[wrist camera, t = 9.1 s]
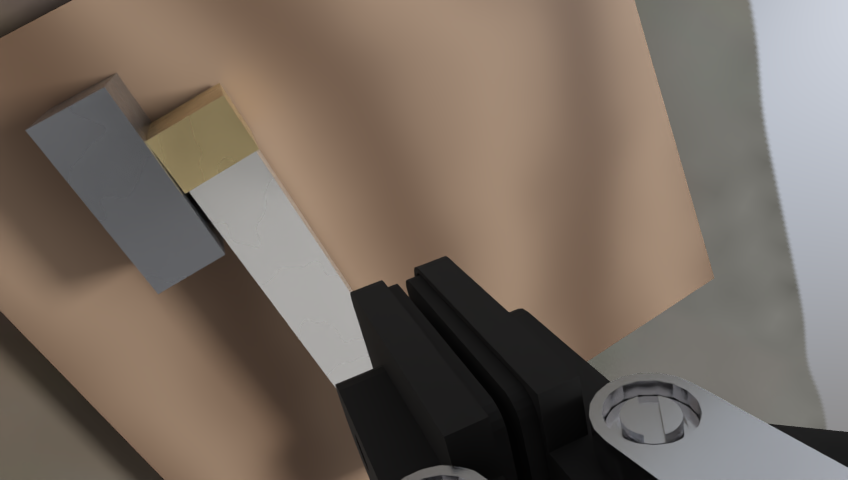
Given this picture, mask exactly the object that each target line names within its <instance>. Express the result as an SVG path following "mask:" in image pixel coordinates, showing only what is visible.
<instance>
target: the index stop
mask: <svg viewBox="0 0 848 480" xmlns="http://www.w3.org/2000/svg"><path fill="white" fill-rule="evenodd" d="M150 124H151V121H150V119H149V118H148V116H147V115H146V113H145V112H144V111H143V109H142V108H141V106H140V105H139V103H138V102H137V101H136V99H135V98H134V96H133V95H132V94H131V92H130V91H129V89H128V88H127V86H126V85H125V84H124V82H123V81H122V79H121V78H120V76H119V75H118V74H117V73H115V74H113V75H111V76H110V77H108V78H106V79H104V80H102V81H100V82H99V83H97V84H95V85H93V86H91V87H89V88H87V89H86V90H84V91H82V92H80V93H78V94H76V95H75V96H73V97H71V98H69V99H67V100H65V101H64V102H62V103H60V104H58V105H56V106H54V107H53V108H51V109H49V110H48V111H47V112H46V113H45V114H43V115H42V116H41V117H40V118H39V119H38V120H37V121H35V122H34V123H33V124H32V125H31V126H30V127H29V128H27V129H26V130H25V131H26V132H27V133H28V134H29V136H30V137H31V138H32V139H33V140H34V142H35V143H36V144H37V145H38V147H39V148H40V149H41V150H42V152H43V153H44V154H45V155H46V156H47V158H48V159H49V160H50V161H51V163H52V164H53V165H54V166H55V168H56V169H57V170H58V171H59V173H60V174H61V175H62V176H63V177H64V179H65V180H66V181H67V182H68V184H69V185H70V186H71V187H72V189H73V190H74V191H75V192H76V194H77V195H78V196H79V197H80V198H81V200H82V201H83V202H84V203H85V205H86V206H87V207H88V208H89V210H90V211H91V212H92V213H93V215H94V216H95V217H96V218H97V219H98V221H99V222H100V223H101V224H102V226H103V227H104V228H105V229H106V231H107V232H108V233H109V234H110V236H111V237H112V238H113V239H114V240H115V242H116V243H117V244H118V245H119V247H120V248H121V249H122V250H123V252H124V253H125V254H126V255H127V256H128V258H129V259H130V260H131V261H132V263H133V264H134V265H135V266H136V268H137V269H138V270H139V271H140V273H141V274H142V275H143V276H144V277H145V279H146V280H147V281H148V282H149V284H150V285H151V286H152V287H153V289H154V290H155V291H156V292H157V294H159V293H161V292H163V291H164V290H166V289H168V288H170V287H171V286H173V285H175V284H176V283H178V282H180V281H181V280H183V279H185V278H187V277H188V276H190V275H192V274H193V273H195V272H197V271H198V270H200V269H202V268H203V267H205V266H207V265H209V264H210V263H212V262H214V261H215V260H217V259H219V258H220V257H222V256H224V255H225V250H224V243H223V237H222V235H221V234H220V233H219V231H218V230H217V229H216V227H215V226H214V225H213V223H212V222H211V221H210V219H209V218H208V217H207V215H206V214H205V213H204V211H203V210H202V209H201V207H200V206H199V205H198V203H197V202H196V200H195V199H194V198H193V196H192V195H191V194H190V192H187V193H186V194H185V193H184V192H183V190H182V189H181V188H180V186H179V185H178V184H177V182H176V181H175V180H174V178H173V177H172V176H171V174H170V173H169V172H168V170H167V169H166V168H165V166H164V165H163V164H162V162H161V161H160V160H159V158H158V157H157V156H156V154H155V153H154V152H153V150H152V149H151V148H150V146H149V145H148V144H147V142H146V138H147V135H148V131H149V127H150Z"/></svg>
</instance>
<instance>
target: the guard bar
mask: <svg viewBox="0 0 848 480" xmlns="http://www.w3.org/2000/svg"><path fill="white" fill-rule="evenodd" d="M146 142H147V144H148V145H149V146H150V148H151V149H152V150H153V152H154V153H155V154H156V156H157V157H158V158H159V160H160V161H161V162H162V164H163V165H164V166H165V168H166V169H167V170H168V172H169V173H170V174H171V176H172V177H173V178H174V180H175V181H176V182H177V184H178V185H179V186H180V188H181V189H182V190H183V192H184V193H185V194H186V193H187V192H190V194H191V195H192V196H193V198H194V199H195V200H196V202H197V203H198V205H199V206H200V207H201V209H202V210H203V211H204V213H205V214H206V215H207V217H208V218H209V219H210V221H211V222H212V223H213V225H214V226H215V227H216V229H217V230H218V231H219V233H220V234H221V235H222V237H223V238H224V239H225V241H226V242H227V243H228V245H229V246H230V247H231V249H232V250H233V251H234V253H235V254H236V255H237V257H238V258H239V259H240V261H241V262H242V263H243V265H244V266H245V267H246V269H247V270H248V271H249V273H250V274H251V275H252V277H253V278H254V279H255V281H256V282H257V283H258V285H259V286H260V287H261V289H262V290H263V291H264V293H265V294H266V295H267V297H268V298H269V299H270V301H271V302H272V303H273V305H274V306H275V308H276V309H277V310H278V312H279V313H280V314H281V316H282V317H283V318H284V320H285V321H286V322H287V324H288V325H289V326H290V328H291V329H292V330H293V332H294V333H295V334H296V336H297V337H298V338H299V340H300V341H301V342H302V344H303V345H304V346H305V348H306V349H307V350H308V352H309V353H310V354H311V356H312V357H313V358H314V360H315V361H316V362H317V364H318V365H319V366H320V368H321V369H322V370H323V372H324V373H325V374H326V376H327V377H328V378H329V380H330V381H331V382H332V384H333V385H334V386H335V384H337V383H340V382H342V381H344V380H347V379H349V378H352V377H354V376H356V375H359V374H361V373H364V372H366V371H369V370H371V369H373V367H372V364H371V361H370V357H369V354H368V351H367V348H366V345H365V342H364V338H363V335H362V332H361V329H360V326H359V323H358V319H357V316H356V313H355V310H354V307H353V303H352V300H351V296H350V292H352V291H353V290H352V289H351V287H350V286H349V284H348V283H347V281H346V280H345V278H344V277H343V275H342V274H341V272H340V271H339V269H338V268H337V266H336V265H335V263H334V262H333V260H332V259H331V257H330V256H329V254H328V253H327V251H326V250H325V248H324V247H323V245H322V244H321V242H320V241H319V239H318V238H317V236H316V235H315V233H314V232H313V230H312V228H311V227H310V225H309V224H308V222H307V221H306V219H305V218H304V216H303V215H302V213H301V212H300V210H299V209H298V207H297V206H296V204H295V203H294V201H293V200H292V198H291V197H290V195H289V194H288V192H287V191H286V189H285V188H284V186H283V185H282V183H281V182H280V180H279V179H278V177H277V176H276V174H275V173H274V171H273V170H272V168H271V167H270V165H269V164H268V162H267V161H266V159H265V158H264V156H263V155H262V153H261V152H260V150H259V147H258V145H257V143H256V141H255V139H254V136H253V134H252V132H251V130H250V129H249V127H248V126H247V124H246V122H245V121H244V119H243V118H242V116H241V115H240V113H239V112H238V110H237V109H236V107H235V106H234V104H233V103H232V101H231V100H230V98H229V97H228V95H227V94H226V92H225V91H224V89H223V88H222V86H221V85H220V83H218V84H216V85H214V86H213V87H211V88H209V89H208V90H206V91H204V92H202V93H201V94H199V95H197V96H196V97H194V98H192V99H190V100H189V101H187V102H185V103H184V104H182V105H180V106H179V107H177V108H175V109H173V110H172V111H170V112H168V113H167V114H165V115H163V116H162V117H160V118H158V119H156V120H155V121H153V122H151V124H150V127H149V131H148V135H147V138H146ZM335 388H336V386H335Z"/></svg>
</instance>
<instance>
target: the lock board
mask: <svg viewBox="0 0 848 480" xmlns="http://www.w3.org/2000/svg"><path fill="white" fill-rule="evenodd" d="M115 73H117V74H118V75H119V76H120V78H121V79H122V81H123V82H124V84H125V85H126V86H127V88H128V89H129V91H130V92H131V94H132V95H133V96H134V98H135V99H136V101H137V102H138V103H139V105H140V106H141V108H142V109H143V111H144V112H145V113H146V115H147V116H148V118H149V119H150V121H151V122H153V121H155V120H156V119H158V118H160V117H162V116H163V115H165V114H167V113H168V112H170V111H172V110H173V109H175V108H177V107H179V106H180V105H182V104H184V103H185V102H187V101H189V100H190V99H192V98H194V97H196V96H197V95H199V94H201V93H202V92H204V91H206V90H208V89H209V88H211V87H213V86H214V85H216V84H218V83H220V85H221V86H222V88H223V89H224V91H225V92H226V94H227V95H228V97H229V98H230V100H231V101H232V103H233V104H234V106H235V107H236V109H237V110H238V112H239V113H240V115H241V116H242V118H243V119H244V121H245V122H246V124H247V126H248V127H249V129H250V130H251V132H252V134H253V136H254V139H255V141H256V143H257V145H258V147H259V150H260V152H261V153H262V155H263V156H264V158H265V159H266V161H267V162H268V164H269V165H270V167H271V168H272V170H273V171H274V173H275V174H276V176H277V177H278V179H279V180H280V182H281V183H282V185H283V186H284V188H285V189H286V191H287V192H288V194H289V195H290V197H291V198H292V200H293V201H294V203H295V204H296V206H297V207H298V209H299V210H300V212H301V213H302V215H303V216H304V218H305V219H306V221H307V222H308V224H309V225H310V227H311V228H312V230H313V232H314V233H315V235H316V236H317V238H318V239H319V241H320V242H321V244H322V245H323V247H324V248H325V250H326V251H327V253H328V254H329V256H330V257H331V259H332V260H333V262H334V263H335V265H336V266H337V268H338V269H339V271H340V272H341V274H342V275H343V277H344V278H345V280H346V281H347V283H348V284H349V286H350V287H351V289H352V290H353V291H354V290H357V289H360V288H362V287H365V286H368V285H370V284H373V283H375V282H378V281H381V280H383V281H384V282H385V284H386V285H387V286H388V287H389V286H392V285H395V284H398V285H399V286H400V287H401V288H402V289H403V291H404V292H405V293H406V294H407V295H408V292H407V288H406V280H408V279H410V278H413V277H415V276H414V268H415V267H417V266H420V265H423V264H425V263H428V262H431V261H433V260H436V259H439V258H441V257H444V256H447V257H448V258H450V259H451V260H452V261H453V262H454V263H455V264H456V265H457V266H458V267H460V268H461V269H462V270H463V271H464V272H465V273H466V274H467V275H468V276H469V277H471V278H472V279H473V280H474V281H475V282H476V283H477V284H478V285H479V286H481V287H482V288H483V289H484V290H485V291H486V292H487V293H488V294H489V295H491V296H492V297H493V298H494V299H495V300H496V301H497V302H498V303H499V304H500V305H502V306H503V307H504V308H505V309H506V310H507V311H508V312H511V311H514V310H516V309H520V308H523V309H524V310H526V311H528V312H529V313H530V314H531V315H533V316H534V317H535V318H536V319H537V320H538V321H540V322H541V323H542V324H543V325H544V326H545V327H547V328H548V329H549V330H550V331H551V332H552V333H554V334H555V335H556V336H557V337H558V338H559V339H561V340H562V341H563V342H564V343H565V344H567V345H568V346H569V347H570V348H571V349H572V350H574V351H575V352H576V353H577V354H578V355H579V356H581V357H582V358H583V359H584V360H585V361H586V362H587V361H588V360H590V359H592V358H593V357H595V356H596V355H598V354H599V353H601V352H602V351H604V350H605V349H607V348H608V347H610V346H611V345H613V344H614V343H616V342H617V341H619V340H621V339H622V338H624V337H625V336H627V335H628V334H630V333H631V332H633V331H634V330H636V329H637V328H639V327H640V326H642V325H643V324H645V323H646V322H648V321H650V320H651V319H653V318H654V317H656V316H657V315H659V314H660V313H662V312H663V311H665V310H666V309H668V308H669V307H671V306H672V305H674V304H675V303H677V302H679V301H680V300H682V299H683V298H685V297H686V296H688V295H689V294H691V293H692V292H694V291H695V290H697V289H698V288H700V287H701V286H703V285H704V284H706V283H708V282H709V281H711V280H712V279H714V275H713V272H712V268H711V265H710V261H709V258H708V254H707V251H706V248H705V244H704V241H703V237H702V234H701V230H700V227H699V223H698V220H697V216H696V213H695V209H694V206H693V202H692V199H691V195H690V192H689V188H688V185H687V182H686V178H685V175H684V171H683V168H682V164H681V161H680V157H679V154H678V150H677V147H676V143H675V140H674V136H673V133H672V129H671V126H670V123H669V119H668V116H667V112H666V109H665V105H664V102H663V98H662V95H661V91H660V88H659V84H658V81H657V77H656V74H655V70H654V67H653V64H652V60H651V57H650V53H649V50H648V46H647V43H646V39H645V36H644V32H643V29H642V25H641V22H640V18H639V15H638V11H637V8H636V5H635V1H634V0H72V1H70V2H68V3H66V4H64V5H62V6H60V7H58V8H57V9H55V10H53V11H51V12H49V13H47V14H45V15H43V16H41V17H39V18H38V19H36V20H34V21H32V22H30V23H28V24H26V25H24V26H22V27H20V28H19V29H17V30H15V31H13V32H11V33H9V34H7V35H5V36H3V37H1V38H0V311H1V312H2V313H3V314H4V315H5V316H6V317H7V318H8V319H9V320H10V321H11V322H12V323H13V324H14V325H15V326H16V328H17V329H18V330H19V331H20V332H21V333H22V334H23V335H24V336H25V337H26V338H27V339H28V340H29V341H30V342H31V343H32V344H33V345H34V346H35V347H36V348H37V349H38V350H39V351H40V352H41V353H42V354H43V355H44V356H45V357H46V358H47V359H48V360H49V361H50V362H51V364H52V365H53V366H54V367H55V368H56V369H57V370H58V371H59V372H60V373H61V374H62V375H63V376H64V377H65V378H66V379H67V380H68V381H69V382H70V383H71V384H72V385H73V386H74V387H75V388H76V389H77V390H78V391H79V392H80V393H81V394H82V395H83V396H84V397H85V399H86V400H87V401H88V402H89V403H90V404H91V405H92V406H93V407H94V408H95V409H96V410H97V411H98V412H99V413H100V414H101V415H102V416H103V417H104V418H105V419H106V420H107V421H108V422H109V423H110V424H111V425H112V426H113V427H114V428H115V429H116V430H117V431H118V432H119V433H120V435H121V436H122V437H123V438H124V439H125V440H126V441H127V442H128V443H129V444H130V445H131V446H132V447H133V448H134V449H135V450H136V451H137V452H138V453H139V454H140V455H141V456H142V457H143V458H144V459H145V460H146V461H147V462H148V463H149V464H150V465H151V466H152V467H153V468H154V470H155V471H156V472H157V473H158V474H159V475H160V476H161V477H162V478H163V479H164V480H370V479H369V476H368V474H367V472H366V469H365V467H364V464H363V462H362V459H361V457H360V454H359V451H358V449H357V446H356V444H355V441H354V438H353V436H352V433H351V430H350V427H349V424H348V422H347V419H346V416H345V413H344V410H343V407H342V405H341V402H340V399H339V396H338V393H337V390H336V388H335V386H334V385H333V384H332V382H331V381H330V380H329V378H328V377H327V376H326V374H325V373H324V372H323V370H322V369H321V368H320V366H319V365H318V364H317V362H316V361H315V360H314V358H313V357H312V356H311V354H310V353H309V352H308V350H307V349H306V348H305V346H304V345H303V344H302V342H301V341H300V340H299V338H298V337H297V336H296V334H295V333H294V332H293V330H292V329H291V328H290V326H289V325H288V324H287V322H286V321H285V320H284V318H283V317H282V316H281V314H280V313H279V312H278V310H277V309H276V308H275V306H274V305H273V303H272V302H271V301H270V299H269V298H268V297H267V295H266V294H265V293H264V291H263V290H262V289H261V287H260V286H259V285H258V283H257V282H256V281H255V279H254V278H253V277H252V275H251V274H250V273H249V271H248V270H247V269H246V267H245V266H244V265H243V263H242V262H241V261H240V259H239V258H238V257H237V255H236V254H235V253H234V251H233V250H232V249H231V247H230V246H229V245H228V243H227V242H226V241H225V239H224V238H223V243H224V250H225V255H224V256H222V257H220V258H219V259H217V260H215V261H214V262H212V263H210V264H209V265H207V266H205V267H203V268H202V269H200V270H198V271H197V272H195V273H193V274H192V275H190V276H188V277H187V278H185V279H183V280H181V281H180V282H178V283H176V284H175V285H173V286H171V287H170V288H168V289H166V290H164V291H163V292H161V293H159V294H157V292H156V291H155V290H154V289H153V287H152V286H151V285H150V284H149V282H148V281H147V280H146V279H145V277H144V276H143V275H142V274H141V273H140V271H139V270H138V269H137V268H136V266H135V265H134V264H133V263H132V261H131V260H130V259H129V258H128V256H127V255H126V254H125V253H124V252H123V250H122V249H121V248H120V247H119V245H118V244H117V243H116V242H115V240H114V239H113V238H112V237H111V236H110V234H109V233H108V232H107V231H106V229H105V228H104V227H103V226H102V224H101V223H100V222H99V221H98V219H97V218H96V217H95V216H94V215H93V213H92V212H91V211H90V210H89V208H88V207H87V206H86V205H85V203H84V202H83V201H82V200H81V198H80V197H79V196H78V195H77V194H76V192H75V191H74V190H73V189H72V187H71V186H70V185H69V184H68V182H67V181H66V180H65V179H64V177H63V176H62V175H61V174H60V173H59V171H58V170H57V169H56V168H55V166H54V165H53V164H52V163H51V161H50V160H49V159H48V158H47V156H46V155H45V154H44V153H43V152H42V150H41V149H40V148H39V147H38V145H37V144H36V143H35V142H34V140H33V139H32V138H31V137H30V136H29V134H28V133H27V132H26V131H25V130H26V129H27V128H29V127H30V126H31V125H32V124H33V123H34V122H35V121H37V120H38V119H39V118H40V117H41V116H42V115H43V114H45V113H46V112H47V111H48V110H49V109H51V108H53V107H54V106H56V105H58V104H60V103H62V102H64V101H65V100H67V99H69V98H71V97H73V96H75V95H76V94H78V93H80V92H82V91H84V90H86V89H87V88H89V87H91V86H93V85H95V84H97V83H99V82H100V81H102V80H104V79H106V78H108V77H110V76H111V75H113V74H115ZM408 297H409V295H408Z"/></svg>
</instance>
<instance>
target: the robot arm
mask: <svg viewBox="0 0 848 480" xmlns="http://www.w3.org/2000/svg"><path fill="white" fill-rule="evenodd" d="M414 276H415V277H413V278H410V279H408V280H406V288H407V292H408V295H409V297H408V295H407V294H406V293H405V292H404V291H403V289H402V288H401V287H400V286H399V285H398V284H395V285H392V286H389V287H388V286H387V285H386V284H385V282H384V281H383V280H381V281H378V282H375V283H373V284H370V285H368V286H365V287H362V288H360V289H357V290H354V291H352V292H350V296H351V300H352V303H353V307H354V310H355V313H356V316H357V319H358V323H359V326H360V329H361V332H362V335H363V338H364V342H365V345H366V348H367V351H368V354H369V357H370V361H371V364H372V367H373V369H371V370H369V371H366V372H364V373H361V374H359V375H356V376H354V377H352V378H349V379H347V380H344V381H342V382H340V383H337V384H335V386H336V390H337V393H338V396H339V399H340V402H341V405H342V407H343V410H344V413H345V416H346V419H347V422H348V424H349V427H350V430H351V433H352V436H353V438H354V441H355V444H356V446H357V449H358V451H359V454H360V457H361V459H362V462H363V464H364V467H365V469H366V472H367V474H368V476H369V479H370V480H848V432H843V431H832V430H823V429H814V428H804V427H794V426H784V425H774V424H767V423H765V422H763V421H762V420H760V419H758V418H756V417H754V416H752V415H751V414H749V413H747V412H745V411H743V410H741V409H740V408H738V407H736V406H734V405H732V404H730V403H729V402H727V401H725V400H723V399H721V398H720V397H718V396H716V395H714V394H712V393H710V392H709V391H707V390H705V389H703V388H701V387H699V386H698V385H696V384H694V383H692V382H689V381H687V380H684V379H682V378H679V377H677V376H672V375H667V374H661V373H638V374H633V375H628V376H623V377H621V378H618V379H616V380H614V381H612V382H610V381H609V380H607V379H606V378H605V377H604V376H603V375H602V374H600V373H599V372H598V371H597V370H596V369H595V368H593V367H592V366H591V365H590V364H589V363H588V362H586V361H585V360H584V359H583V358H582V357H581V356H579V355H578V354H577V353H576V352H575V351H574V350H572V349H571V348H570V347H569V346H568V345H567V344H565V343H564V342H563V341H562V340H561V339H559V338H558V337H557V336H556V335H555V334H554V333H552V332H551V331H550V330H549V329H548V328H547V327H545V326H544V325H543V324H542V323H541V322H540V321H538V320H537V319H536V318H535V317H534V316H533V315H531V314H530V313H529V312H528V311H526V310H524V309H523V308H520V309H516V310H514V311H511V312H508V311H507V310H506V309H505V308H504V307H503V306H502V305H500V304H499V303H498V302H497V301H496V300H495V299H494V298H493V297H492V296H491V295H489V294H488V293H487V292H486V291H485V290H484V289H483V288H482V287H481V286H479V285H478V284H477V283H476V282H475V281H474V280H473V279H472V278H471V277H469V276H468V275H467V274H466V273H465V272H464V271H463V270H462V269H461V268H460V267H458V266H457V265H456V264H455V263H454V262H453V261H452V260H451V259H450V258H448V257H447V256H444V257H441V258H439V259H436V260H433V261H431V262H428V263H425V264H423V265H420V266H417V267H415V268H414Z"/></svg>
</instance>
